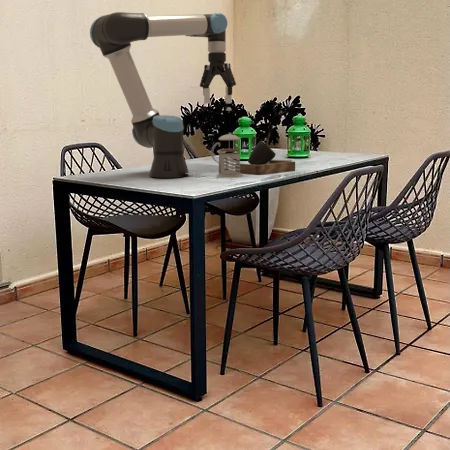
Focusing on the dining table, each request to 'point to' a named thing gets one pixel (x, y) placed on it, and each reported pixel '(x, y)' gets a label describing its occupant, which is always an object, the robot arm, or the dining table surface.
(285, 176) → the dining table surface
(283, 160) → the t block
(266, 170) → the brown wooden tray
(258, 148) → the mug
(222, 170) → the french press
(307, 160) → the dining table surface
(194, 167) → the dining table surface
